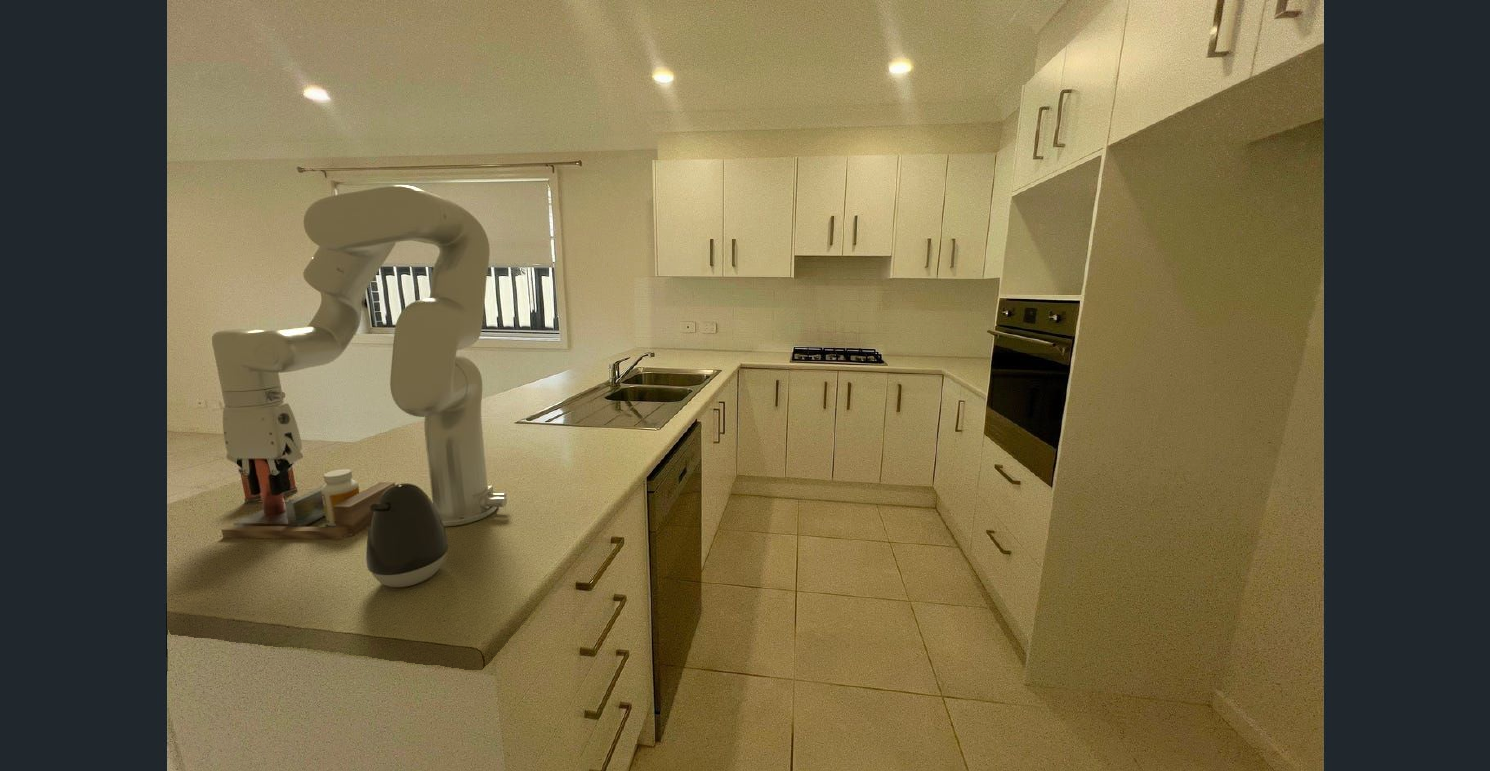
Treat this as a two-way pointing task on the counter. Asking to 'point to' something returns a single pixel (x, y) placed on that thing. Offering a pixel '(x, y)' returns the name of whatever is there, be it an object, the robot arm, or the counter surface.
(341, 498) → the supplement bottle
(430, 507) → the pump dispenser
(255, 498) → the lighter
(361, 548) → the counter surface
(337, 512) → the bench clamp
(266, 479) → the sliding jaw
